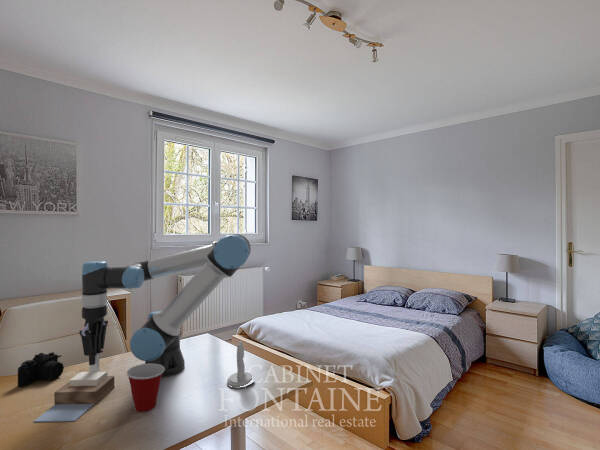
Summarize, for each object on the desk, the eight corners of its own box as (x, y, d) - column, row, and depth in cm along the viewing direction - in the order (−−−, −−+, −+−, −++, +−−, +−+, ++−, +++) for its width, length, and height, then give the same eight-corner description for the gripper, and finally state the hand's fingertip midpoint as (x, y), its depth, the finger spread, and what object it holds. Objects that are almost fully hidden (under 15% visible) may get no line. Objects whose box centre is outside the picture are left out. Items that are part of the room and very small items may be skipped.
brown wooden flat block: (114, 387, 117) (114, 376, 117) (96, 404, 106) (95, 391, 106) (76, 388, 117) (76, 376, 117) (54, 404, 106) (54, 392, 106)
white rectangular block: (107, 377, 116) (107, 371, 116) (96, 385, 110) (96, 379, 110) (81, 377, 116) (81, 372, 116) (69, 386, 110) (69, 379, 110)
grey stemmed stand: (256, 375, 125) (256, 336, 125) (251, 388, 115) (251, 345, 115) (230, 375, 126) (230, 336, 126) (223, 388, 116) (223, 345, 116)
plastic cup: (161, 414, 100) (161, 374, 100) (122, 419, 97) (122, 378, 97) (167, 396, 110) (167, 360, 110) (132, 400, 108) (132, 363, 108)
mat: (93, 404, 106) (93, 403, 106) (75, 421, 97) (75, 420, 97) (55, 405, 105) (55, 404, 105) (33, 422, 96) (33, 421, 96)
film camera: (35, 390, 116) (35, 364, 116) (13, 387, 118) (13, 362, 118) (73, 371, 130) (73, 348, 130) (53, 369, 132) (53, 346, 132)
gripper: (95, 301, 123) (94, 364, 123) (71, 310, 110) (70, 381, 110) (115, 301, 123) (115, 364, 123) (93, 310, 110) (93, 381, 110)
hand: (94, 372), depth 117 cm, fingers closed
